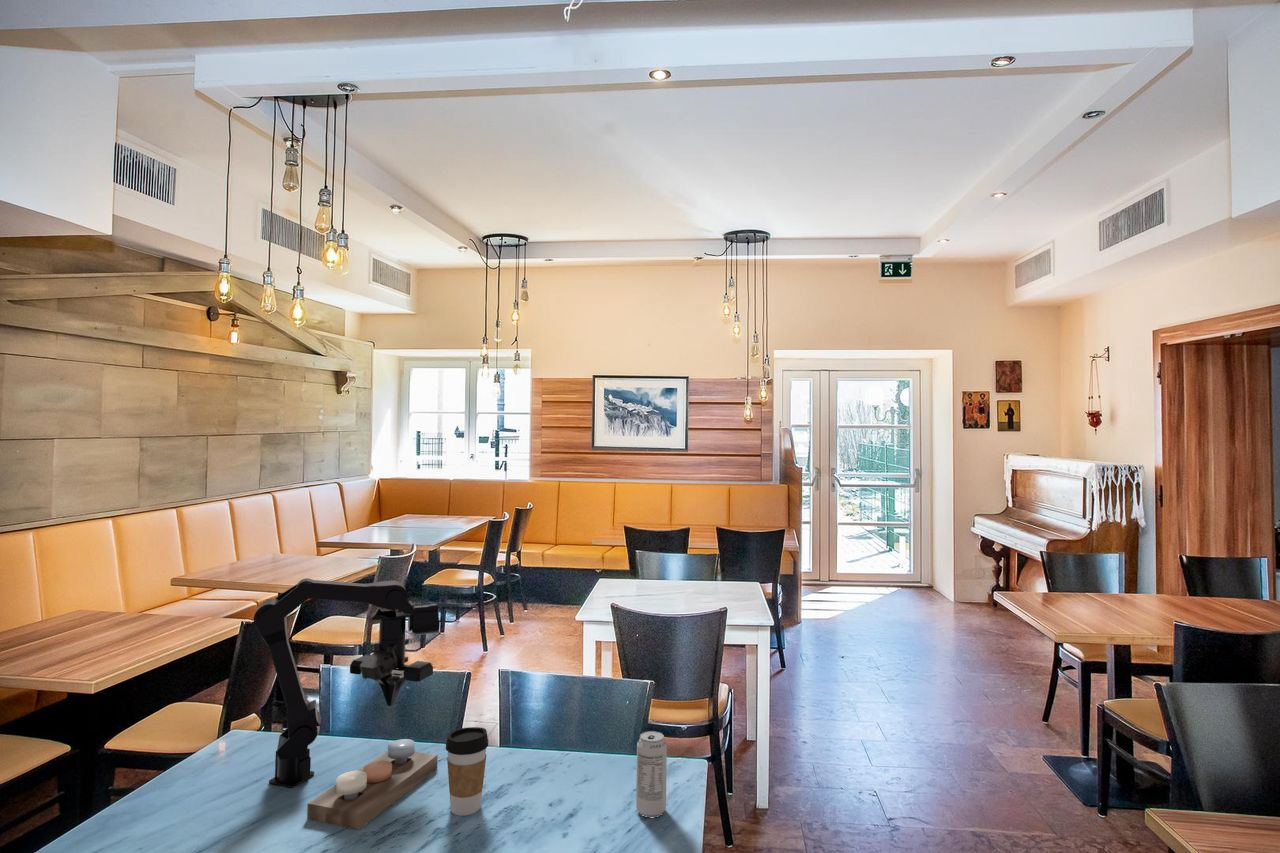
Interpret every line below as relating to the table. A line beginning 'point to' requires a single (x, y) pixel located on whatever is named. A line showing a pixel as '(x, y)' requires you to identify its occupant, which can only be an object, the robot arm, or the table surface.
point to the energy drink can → (651, 774)
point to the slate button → (401, 750)
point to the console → (372, 793)
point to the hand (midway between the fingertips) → (390, 705)
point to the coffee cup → (466, 768)
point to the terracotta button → (378, 771)
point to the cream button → (351, 784)
